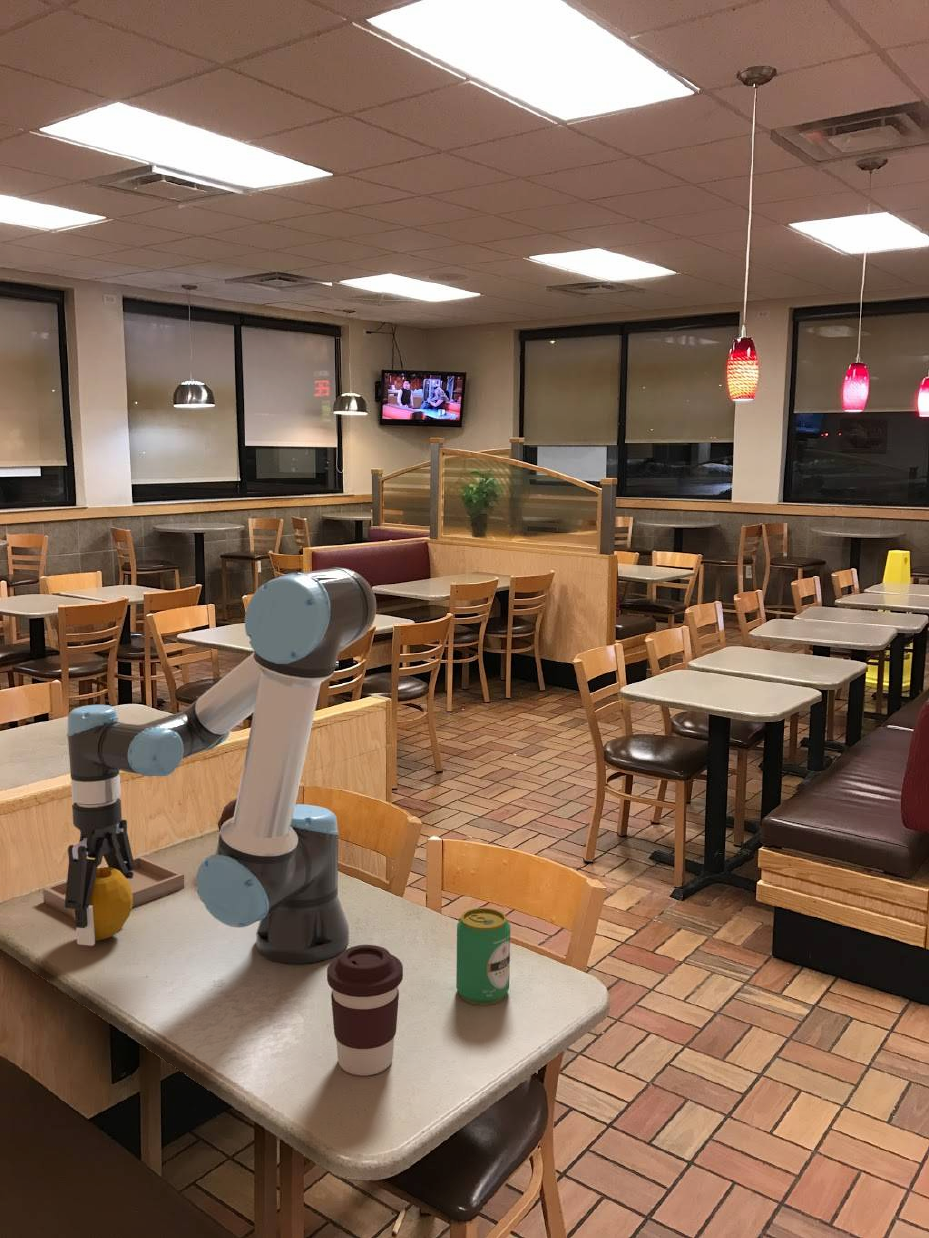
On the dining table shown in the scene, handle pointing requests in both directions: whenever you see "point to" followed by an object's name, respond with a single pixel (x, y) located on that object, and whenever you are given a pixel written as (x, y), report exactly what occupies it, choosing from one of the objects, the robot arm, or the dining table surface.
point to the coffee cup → (365, 1007)
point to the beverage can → (483, 956)
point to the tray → (144, 884)
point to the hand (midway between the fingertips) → (103, 929)
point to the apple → (110, 902)
